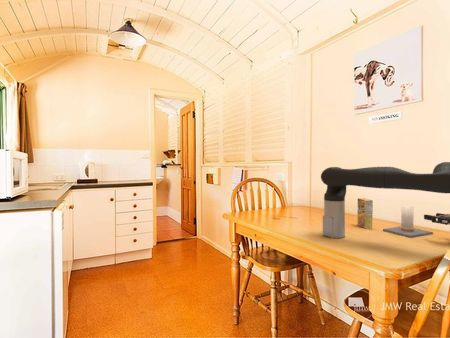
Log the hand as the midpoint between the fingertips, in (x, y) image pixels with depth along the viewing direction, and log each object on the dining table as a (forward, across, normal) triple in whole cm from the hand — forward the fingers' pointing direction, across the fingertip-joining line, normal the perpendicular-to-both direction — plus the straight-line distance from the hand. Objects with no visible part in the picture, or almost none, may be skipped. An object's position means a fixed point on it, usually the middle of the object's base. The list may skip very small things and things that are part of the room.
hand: (430, 216), depth 122 cm
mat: (+11, 0, +10) cm, 15 cm away
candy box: (+28, +9, +11) cm, 31 cm away
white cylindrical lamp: (+11, 0, +9) cm, 14 cm away
